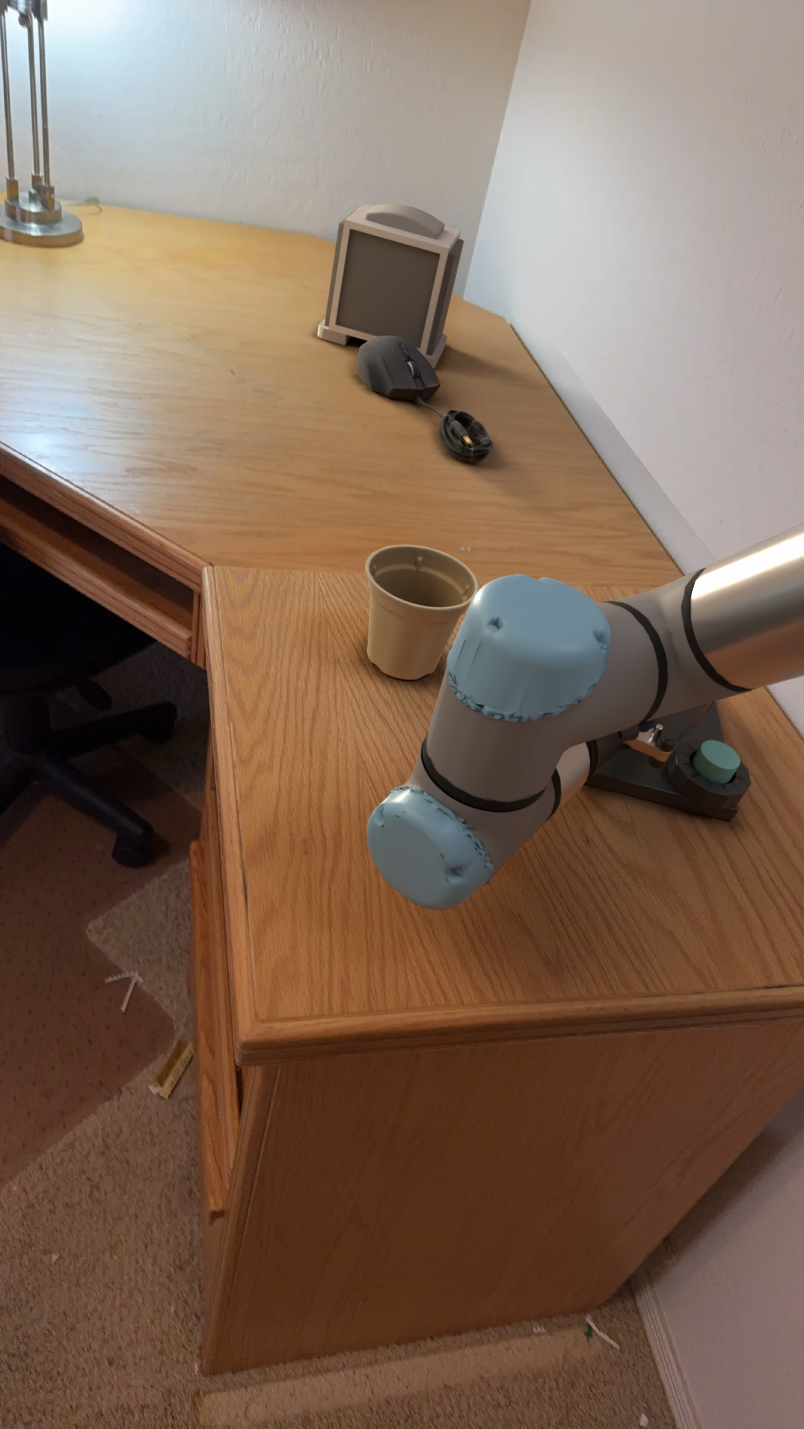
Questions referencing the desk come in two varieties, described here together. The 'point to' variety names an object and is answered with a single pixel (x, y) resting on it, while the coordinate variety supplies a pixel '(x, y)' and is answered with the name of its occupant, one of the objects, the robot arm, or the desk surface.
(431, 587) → the flower pot
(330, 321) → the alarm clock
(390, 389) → the computer mouse
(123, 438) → the desk surface
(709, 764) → the button
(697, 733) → the scale
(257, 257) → the desk surface
